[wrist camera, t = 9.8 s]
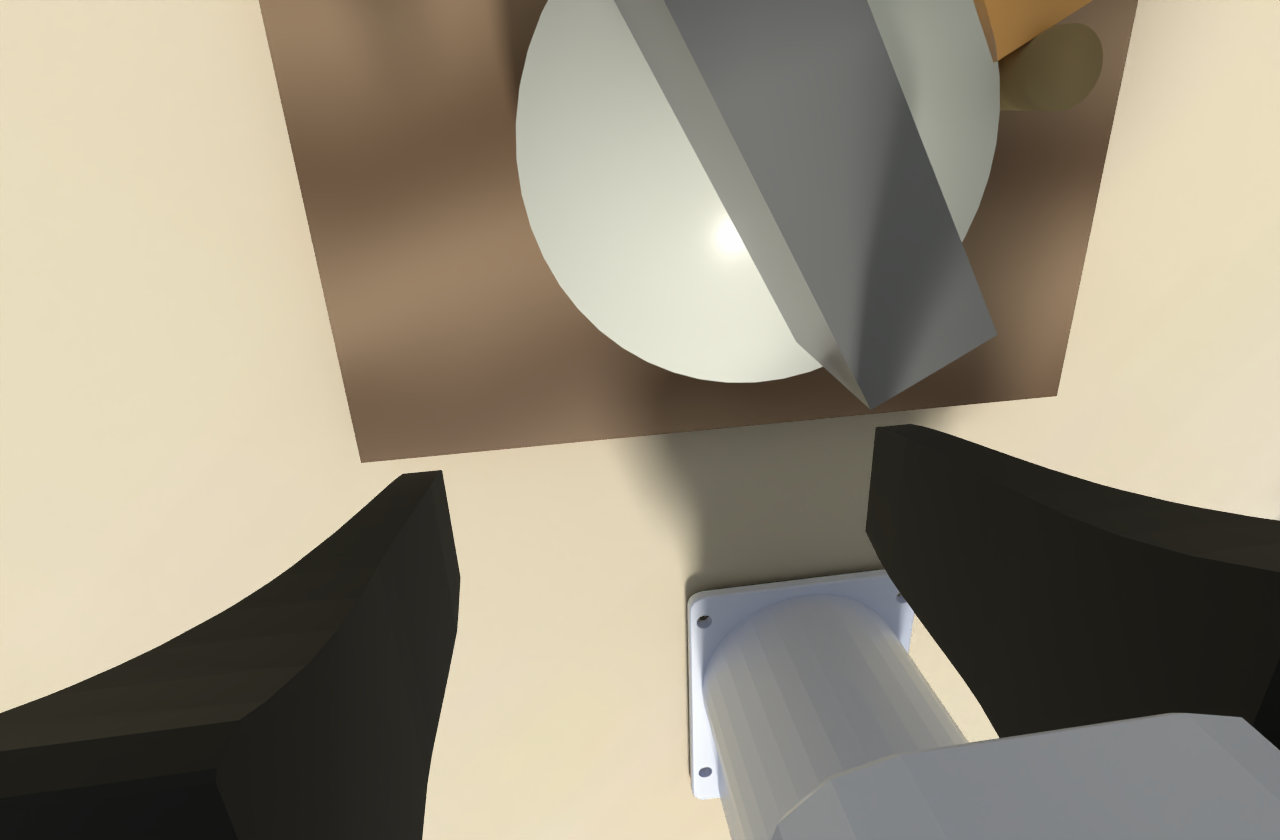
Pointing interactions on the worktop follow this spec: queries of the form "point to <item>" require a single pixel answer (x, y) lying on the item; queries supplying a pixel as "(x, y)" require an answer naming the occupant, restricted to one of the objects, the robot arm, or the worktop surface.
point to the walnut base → (523, 282)
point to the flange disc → (770, 177)
